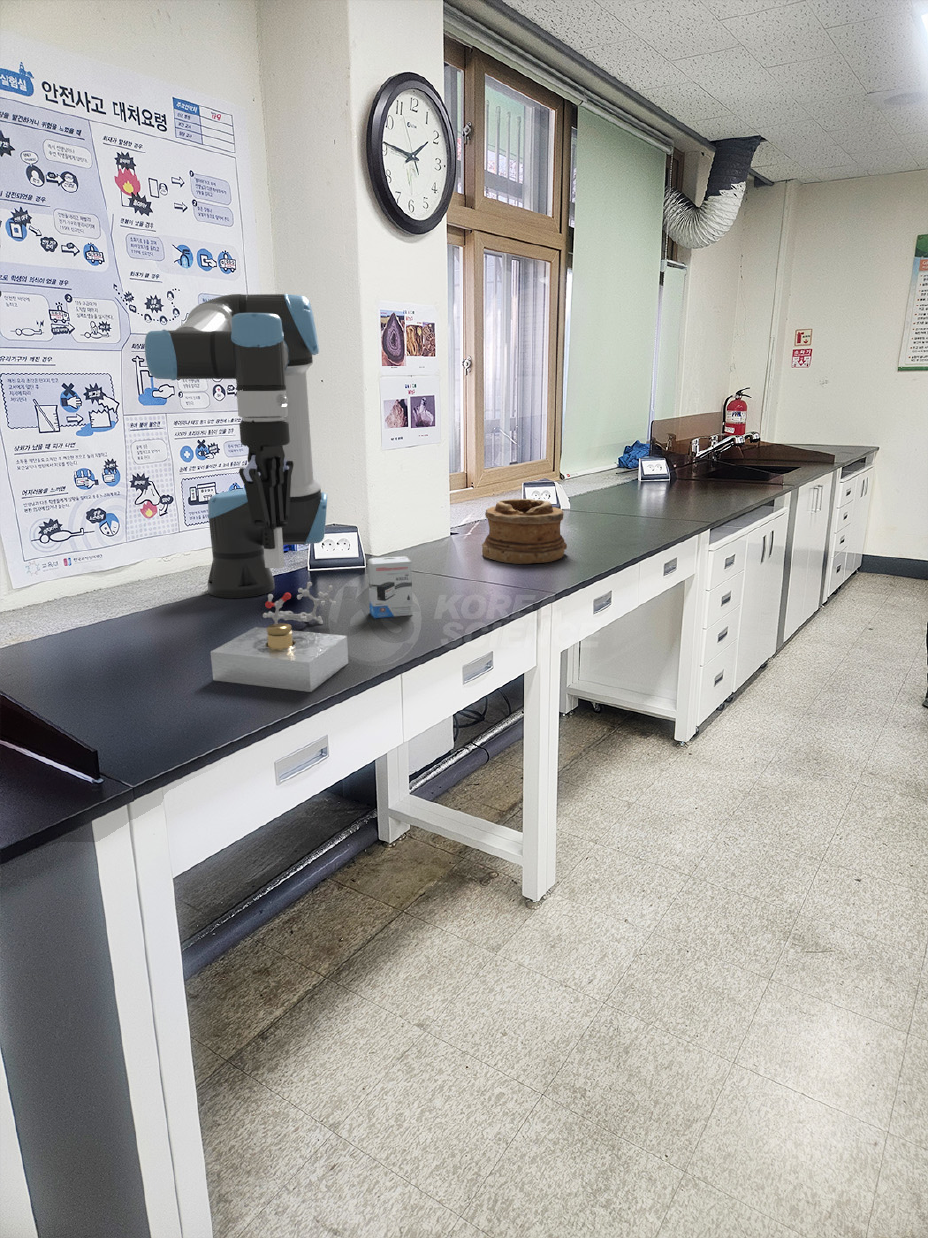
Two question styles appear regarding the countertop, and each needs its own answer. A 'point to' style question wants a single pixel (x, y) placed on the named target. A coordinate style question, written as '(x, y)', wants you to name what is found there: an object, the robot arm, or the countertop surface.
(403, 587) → the ink box
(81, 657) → the countertop surface
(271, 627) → the cylinder
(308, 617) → the molecular model
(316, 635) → the plate
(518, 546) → the container
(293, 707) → the countertop surface
